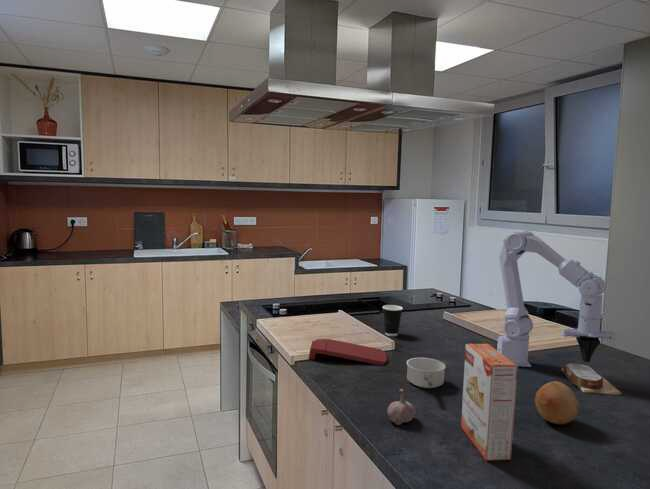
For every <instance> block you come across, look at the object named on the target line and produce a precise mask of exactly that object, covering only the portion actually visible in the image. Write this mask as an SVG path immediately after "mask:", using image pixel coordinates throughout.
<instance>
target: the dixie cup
mask: <svg viewBox="0 0 650 489" xmlns="http://www.w3.org/2000/svg"><path fill="white" fill-rule="evenodd" d="M403 308H404V307H402V306H401V305H395V304H385V305H383V306H382V310H383V313H382V314H383V327H384V333H385V334H384V335H386V336H387V337H398V335H399V334H398V333H399V329H400V325H401V318H402V312H403Z"/></svg>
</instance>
